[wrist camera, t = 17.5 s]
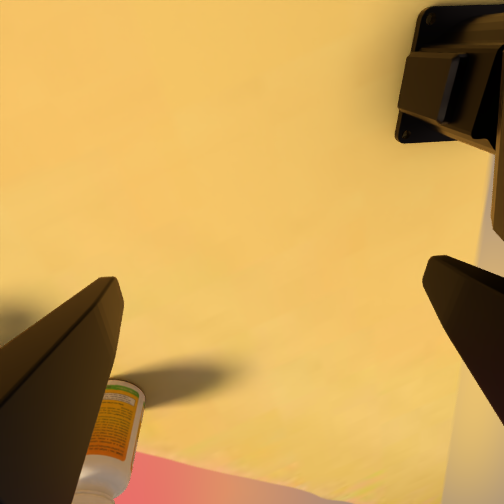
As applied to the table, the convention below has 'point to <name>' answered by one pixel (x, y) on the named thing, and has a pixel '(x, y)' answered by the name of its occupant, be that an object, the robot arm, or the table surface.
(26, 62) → the table surface
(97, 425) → the supplement bottle
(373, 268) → the table surface
